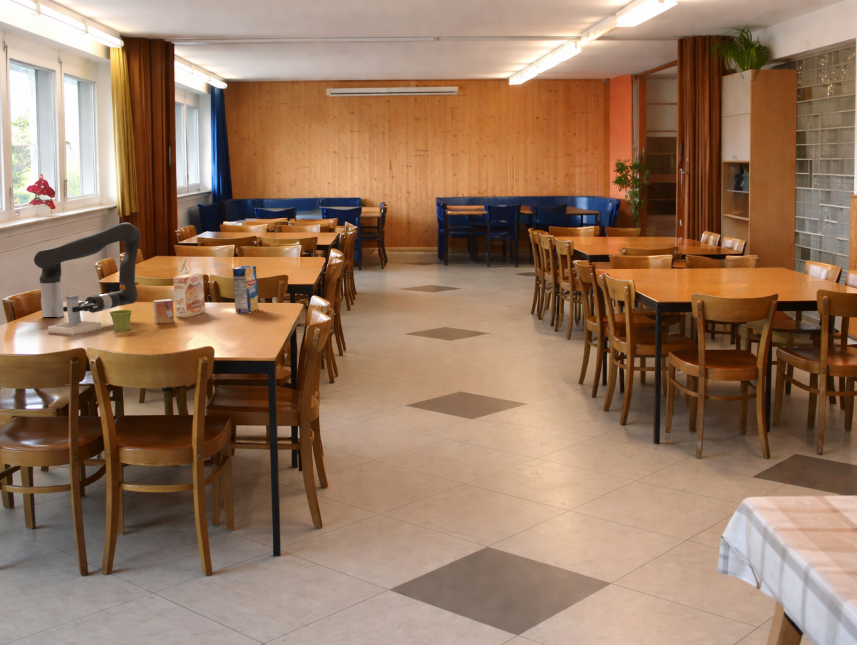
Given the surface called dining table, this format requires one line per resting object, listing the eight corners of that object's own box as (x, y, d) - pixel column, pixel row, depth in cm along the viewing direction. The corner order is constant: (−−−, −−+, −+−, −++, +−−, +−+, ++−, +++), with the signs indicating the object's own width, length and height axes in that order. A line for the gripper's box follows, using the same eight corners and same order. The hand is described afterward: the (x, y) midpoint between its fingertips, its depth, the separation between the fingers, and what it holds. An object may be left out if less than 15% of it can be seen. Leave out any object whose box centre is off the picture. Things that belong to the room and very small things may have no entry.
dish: (48, 333, 356) (47, 326, 356) (76, 326, 370) (76, 320, 369) (73, 335, 350) (72, 329, 349) (101, 329, 363) (100, 322, 363)
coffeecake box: (187, 317, 389) (184, 277, 385) (175, 317, 391) (172, 277, 388) (206, 312, 403) (203, 273, 399) (194, 311, 405) (191, 273, 401)
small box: (156, 324, 374) (155, 301, 372) (154, 322, 379) (152, 300, 377) (174, 322, 378) (172, 300, 376) (172, 320, 383) (170, 298, 381)
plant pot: (120, 328, 367) (118, 309, 365) (138, 329, 364) (136, 310, 362) (106, 332, 358) (104, 313, 356) (124, 333, 355) (122, 313, 354)
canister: (65, 323, 358) (62, 297, 355) (75, 321, 363) (72, 295, 360) (74, 324, 356) (71, 297, 353) (84, 322, 360) (81, 295, 358)
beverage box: (235, 313, 399) (232, 268, 395) (246, 309, 409) (243, 265, 405) (248, 313, 397) (245, 268, 393) (258, 309, 407) (255, 266, 403)
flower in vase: (181, 303, 430) (177, 256, 425) (203, 302, 431) (199, 256, 426) (176, 307, 417) (172, 259, 412) (198, 307, 418) (195, 258, 413)
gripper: (86, 294, 373) (55, 300, 358) (109, 295, 367) (78, 302, 352) (88, 310, 374) (57, 317, 359) (111, 311, 368) (80, 319, 353)
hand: (68, 309), depth 355 cm, fingers closed on canister, 5 cm apart
